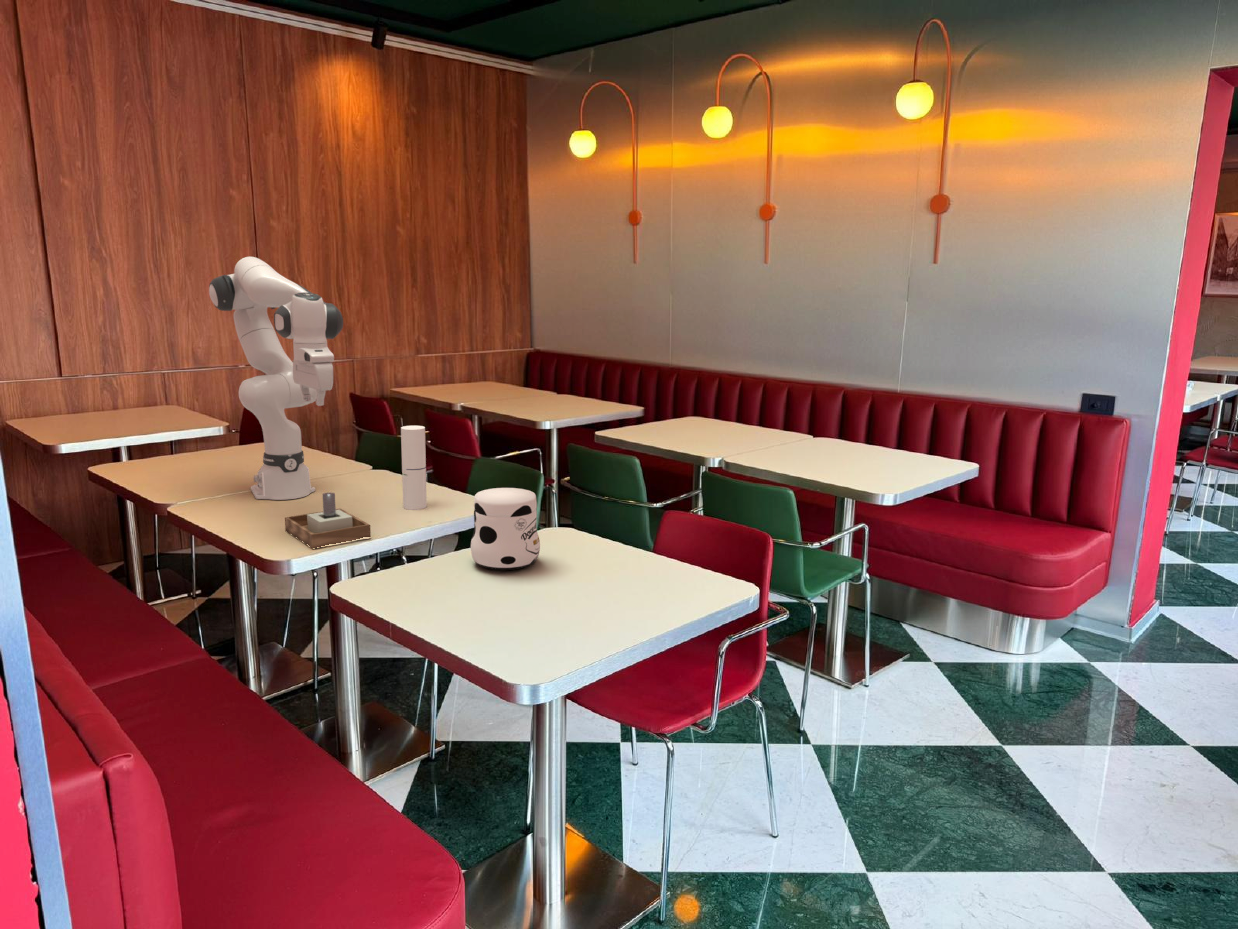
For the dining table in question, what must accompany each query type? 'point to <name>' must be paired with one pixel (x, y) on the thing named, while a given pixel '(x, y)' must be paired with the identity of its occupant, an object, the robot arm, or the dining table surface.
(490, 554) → the milk container
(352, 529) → the box
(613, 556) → the dining table surface
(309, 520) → the plate
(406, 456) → the cylindrical container
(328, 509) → the peg
